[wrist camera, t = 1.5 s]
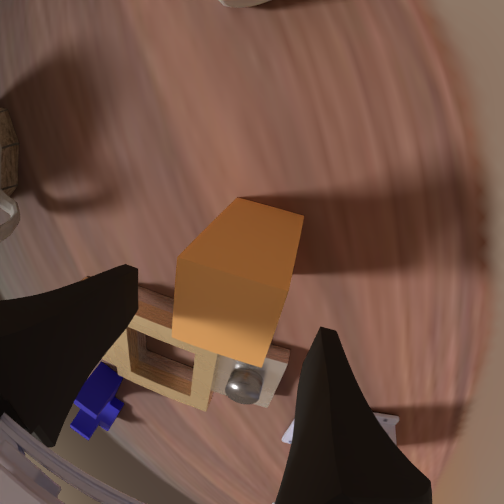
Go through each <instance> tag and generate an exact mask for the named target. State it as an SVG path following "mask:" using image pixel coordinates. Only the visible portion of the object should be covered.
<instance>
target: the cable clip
mask: <svg viewBox="0 0 504 504" xmlns="http://www.w3.org/2000/svg"><path fill="white" fill-rule="evenodd" d="M122 379H123V377H122V376H120V375H118V373H116V372H115V371H113V370H112V369H111V368H109V367H108V366H107V365H105V364H104V363H103V362H101V363H100V364H99V365H98V367H97V368H96V369H95V370H94V372H93V373H92V374H91V375H90V377H89V378H88V379H87V380H86V382H85V383H84V385H83V386H82V388H81V390H80V392H79V393H78V395H77V397H76V399H75V401H74V404H75V405H77V406H78V407H79V408H81V409H80V411H79V412H78V414H77V416H76V417H75V419H74V420H73V422H72V423H71V424H70V427H71V428H72V429H73V430H75V431H76V432H78V433H79V434H80V435H81V436H83V437H84V438H86V439H87V440H89V439H90V437H91V436H92V434H93V433H94V431H95V430H96V428H97V427H98V425H99V426H101V427H102V428H103V429H105V430H106V431H108V430H109V429H110V427H111V425H112V424H113V422H114V421H115V419H116V417H117V416H118V414H119V412H120V410H121V409H122V407H123V405H124V403H123V402H121V401H120V400H119V399H117V398H116V397H115V394H116V392H117V390H118V388H119V386H120V384H121V382H122Z"/></svg>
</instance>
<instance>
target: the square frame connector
mask: <svg viewBox="0 0 504 504" xmlns="http://www.w3.org/2000/svg"><path fill="white" fill-rule="evenodd" d="M87 278H88V277H85V278H83V279H82V280H84V279H87ZM82 280H81V281H82ZM173 305H174V299H172V298H169V297H167V296H164V295H161V294H159V293H156V292H153V291H150V290H148V289H145V288H143V287H140V286H138V306H139V309H138V311H137V312H136V314H135V316H134V317H133V319H132V320H131V322H130V324H129V325H128V327H127V328H126V329H125V331H124V332H123V333H122V334H121V336H120V337H119V338H118V339H117V340H116V342H115V343H114V344H113V345H112V346H111V348H110V349H109V350H108V351H107V352H106V354H105V355H104V356H103V357H102V359H103V360H105V361H107V362H109V363H111V364H113V365H115V366H117V371H118V375H120V376H122V377H124V378H126V379H128V380H130V381H132V382H134V383H136V384H139V385H141V386H143V387H145V388H147V389H150V390H152V391H154V392H157V393H159V394H161V395H164V396H166V397H169V398H171V399H174V400H176V401H179V402H181V403H184V404H186V405H189V406H192V407H194V408H197V409H200V410H203V411H207V408H208V406H209V404H210V401H211V399H212V397H213V394H214V392H217V393H220V394H223V395H226V396H228V397H229V398H230V399H232V400H233V401H235V402H238V403H241V404H255V405H259V406H262V407H266V408H268V406H269V404H270V401H271V399H272V397H273V395H274V393H275V391H276V389H277V387H278V385H279V382H280V380H281V378H282V376H283V374H284V371H285V369H286V367H287V365H288V361H289V356H290V349H286V348H283V347H279V346H276V345H272V344H270V346H269V349H268V352H267V354H266V357H265V360H264V363H263V365H262V368H261V367H257V366H254V365H251V364H247V363H244V362H241V361H238V360H235V359H231V358H228V357H225V356H222V355H219V354H216V353H213V352H211V351H208V350H205V349H202V348H199V347H196V346H194V345H191V344H188V343H185V342H183V341H180V340H177V339H175V338H172V321H173ZM146 335H148V336H151V337H153V338H156V339H158V340H161V341H163V342H166V343H168V344H171V345H173V346H176V347H179V348H181V349H184V350H187V351H189V352H192V353H195V360H194V368H192V367H189V366H186V365H184V364H181V363H178V362H176V361H173V360H171V359H168V358H166V357H163V356H161V355H158V354H156V353H153V352H151V351H149V350H147V348H146Z"/></svg>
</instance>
